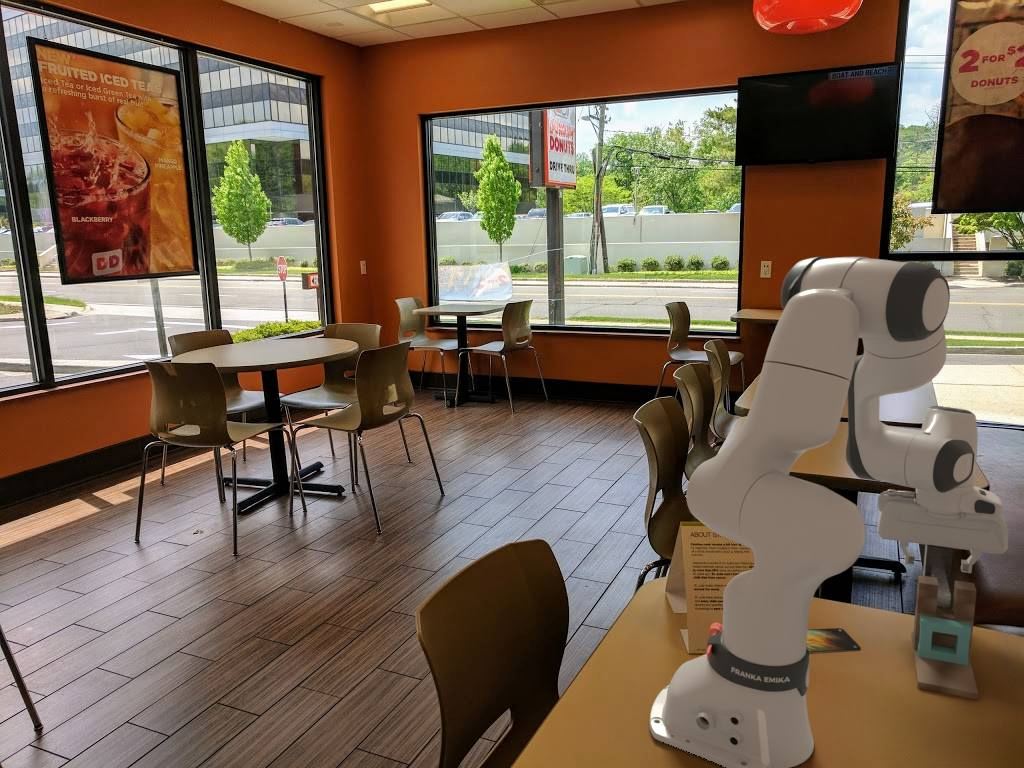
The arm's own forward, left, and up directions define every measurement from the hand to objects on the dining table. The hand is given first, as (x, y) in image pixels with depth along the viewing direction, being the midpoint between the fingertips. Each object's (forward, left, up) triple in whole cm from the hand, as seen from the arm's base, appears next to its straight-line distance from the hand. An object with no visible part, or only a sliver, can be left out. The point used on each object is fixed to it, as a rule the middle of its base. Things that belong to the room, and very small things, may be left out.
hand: (937, 567), depth 133 cm
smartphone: (-20, -18, -10) cm, 28 cm away
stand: (0, -18, -10) cm, 20 cm away
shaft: (0, -6, -3) cm, 6 cm away
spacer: (0, -17, -9) cm, 19 cm away
